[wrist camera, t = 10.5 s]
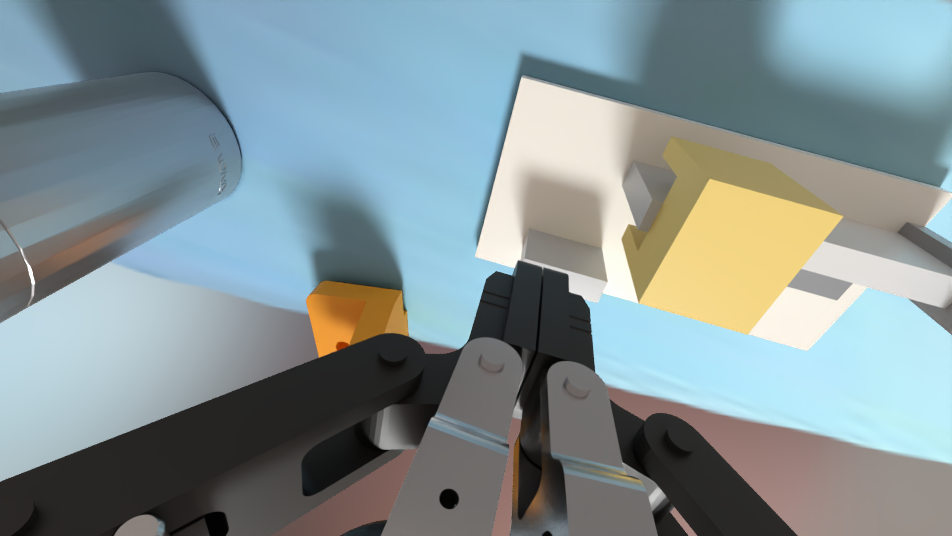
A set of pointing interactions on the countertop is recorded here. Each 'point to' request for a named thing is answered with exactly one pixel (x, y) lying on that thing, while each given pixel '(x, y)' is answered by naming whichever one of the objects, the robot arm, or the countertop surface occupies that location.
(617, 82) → the countertop surface
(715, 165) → the yellow block
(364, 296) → the bracket
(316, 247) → the countertop surface
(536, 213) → the rail plate
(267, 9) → the countertop surface
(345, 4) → the countertop surface
